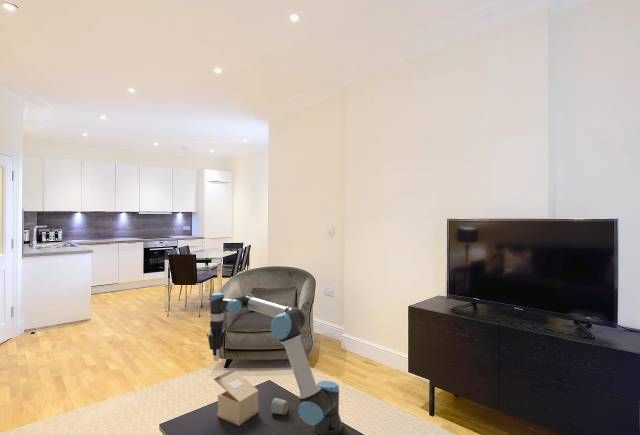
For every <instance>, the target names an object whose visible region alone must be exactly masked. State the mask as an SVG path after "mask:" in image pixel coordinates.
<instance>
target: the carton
mask: <svg viewBox="0 0 640 435" xmlns="http://www.w3.org/2000/svg"><path fill="white" fill-rule="evenodd" d="M258 413H259V391H258V392H257V393H255V394H253V395H252V396H250V397H248V398H247V399H245V400H243V401H242V402H240V403H239V402H238V401H237V400H236V399H235V398H234V397H233V396H231V395H230V394H229V393H228V392H227V391H226V390H224V391H223V392H221V393H219V394H217V417H218V418H220V419H222V420H225V421H226V422H229V423H230V424H231V423H232V424H233V425H236V426H241V425H243V423H244V424H245V423H246V422H247V421H248V420H250V419H251V418H253V417H254V416H255V415H257V414H258Z"/></svg>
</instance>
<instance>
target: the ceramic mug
mask: <svg viewBox="0 0 640 435" xmlns="http://www.w3.org/2000/svg"><path fill="white" fill-rule="evenodd" d="M288 410H289V401H288V400H286V399H281V398H277V397H274V398H273V399H272V401H271V405H270V411H271V413H272V414H276V415H282V416H283V415H284V416H285V415H287V412H288Z"/></svg>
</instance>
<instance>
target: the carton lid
mask: <svg viewBox="0 0 640 435" xmlns="http://www.w3.org/2000/svg"><path fill="white" fill-rule="evenodd" d="M213 380H214V382H216V384H218V385H219V387H221V388H222V389H223V390H224V391H227V392H228V393H229V394H230V395H231V396H233V397H234V398H235V399H236V400H237V401H238V402H239V403H240V402H242V401H243V400H245V399H247V398H248V397H250V396H252V395H253V394H255V393H257V392H258V393H259V389H257V388H256V386H254V385H253V384H252V383H250V382H249V381H248V380H247V379H246V378H245V377H244V376H242V375H241V374H240V373H239V372H237V371H236V370H235V369H234V368H233V369H231V370H229V371H226V372H225V373H222V374H220V375H219V376H215V377H214V378H213Z"/></svg>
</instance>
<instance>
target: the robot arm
mask: <svg viewBox="0 0 640 435" xmlns="http://www.w3.org/2000/svg"><path fill="white" fill-rule="evenodd" d="M209 304H210V305H209V306H210V310H209V311H210V314H209V315H210V317H209V319H210V321H209V327H210V330H209V333H207V334H206V337H207V340H208V345H209V349H210V350H211V351H212V356H213V361H215V362H218V361H220V353H221V352H220V350H221V349H222V347H223V346H224V340H225V336H226V332H227V329H225V328H224V323H225V322H224V321H225V320H224V316H225V315H224V314H225V313H230V314H237V313H239V312H240V311H241V310H242V309H247V310H249V311H254V312H256V313H260V314H263V315H266V316H268V317H272V318H273V319H272V321H271V323H270V331H271V334H272V335H273V337H275V338H276V339H277V340H279V342H280V344H282V345H283V346H284V348H285V351H286V354H287V357H288V361H289V364H290V366H291V369H292V372H293V375H294V378H295V382H296V384H297V387H298V390H299V395H298V400H299V402H300V403H299V406H298V410H297V411H298V416H299V417H300V418H301V420H302V422H304V423H306V424H307V425H310V426H313V427H312V429H313V430H314V432H315V433H316V434H318V435H338V434H340V433H341V432H342V429H343V423H342V418H341V416H340V386H339V384H337V383H336V382H335V381H332V380H331V381H330V380H322V381H318V382H317V383H316V381H315V377H314V375H313V372H312V370H311V366H310V363H309V361H308V358H307V354H306V351H305V349H304V345H303V343H302V340H301V337H302V331H301V330H302V329H303V328H304V327H305V325H306V323H307V316H306V313H305V312H304V311H303V310H302V309H301V308H299V307H296V306H291V305H287V306H285V305H282V304H278V303H276V302H271V301H268V300H264V299H261V298H257V297H255V296H254V295H253V294H252V293H246V294H243V295H239V296H235V297H231V298H227V297H225V294H224V293H222V292H214V293H211V294H210V303H209ZM224 312H225V313H224Z"/></svg>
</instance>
